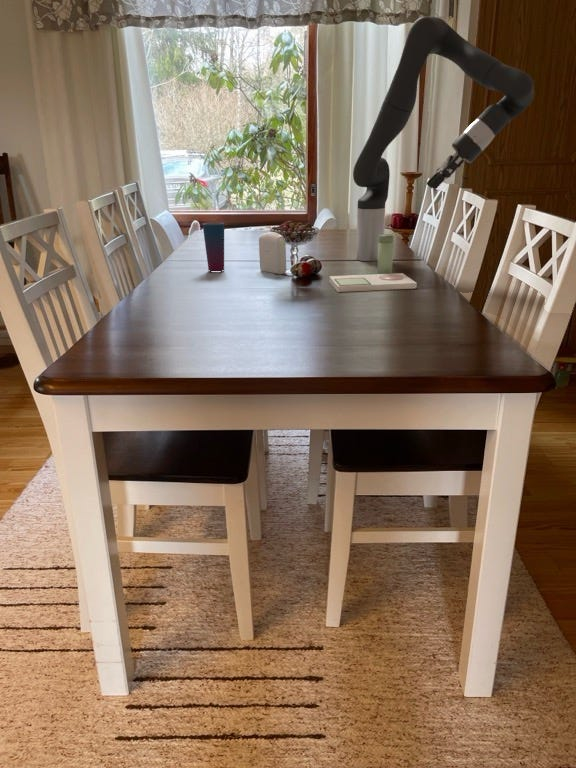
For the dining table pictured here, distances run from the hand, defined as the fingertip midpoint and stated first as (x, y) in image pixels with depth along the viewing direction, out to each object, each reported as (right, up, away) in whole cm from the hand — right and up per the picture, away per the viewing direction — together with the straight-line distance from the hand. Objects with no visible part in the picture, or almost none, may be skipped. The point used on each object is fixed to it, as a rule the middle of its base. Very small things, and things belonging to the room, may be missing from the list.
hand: (430, 186), depth 173 cm
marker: (-11, -23, +11) cm, 28 cm away
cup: (-64, -20, +23) cm, 71 cm away
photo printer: (-46, -21, +20) cm, 54 cm away
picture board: (-17, -28, -1) cm, 33 cm away
